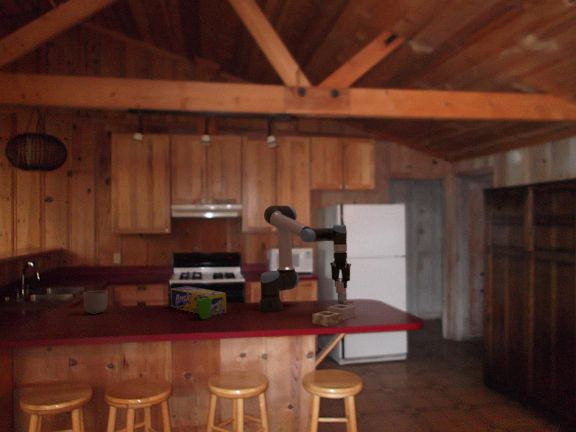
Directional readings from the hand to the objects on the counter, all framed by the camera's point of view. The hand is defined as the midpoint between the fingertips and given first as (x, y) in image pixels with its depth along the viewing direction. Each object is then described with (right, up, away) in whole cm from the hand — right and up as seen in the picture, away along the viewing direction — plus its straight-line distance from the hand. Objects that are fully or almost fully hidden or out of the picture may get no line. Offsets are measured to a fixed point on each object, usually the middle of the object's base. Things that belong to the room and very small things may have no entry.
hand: (341, 293), depth 252 cm
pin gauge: (0, -6, 0) cm, 6 cm away
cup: (-78, -15, +2) cm, 79 cm away
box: (-86, -16, +26) cm, 92 cm away
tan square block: (-9, -14, -13) cm, 21 cm away
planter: (-148, -16, +21) cm, 150 cm away
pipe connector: (+5, -14, +20) cm, 25 cm away
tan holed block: (0, -14, 0) cm, 14 cm away
